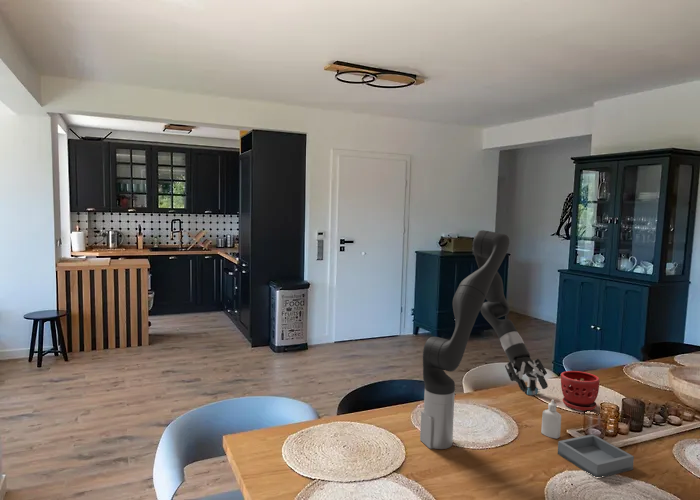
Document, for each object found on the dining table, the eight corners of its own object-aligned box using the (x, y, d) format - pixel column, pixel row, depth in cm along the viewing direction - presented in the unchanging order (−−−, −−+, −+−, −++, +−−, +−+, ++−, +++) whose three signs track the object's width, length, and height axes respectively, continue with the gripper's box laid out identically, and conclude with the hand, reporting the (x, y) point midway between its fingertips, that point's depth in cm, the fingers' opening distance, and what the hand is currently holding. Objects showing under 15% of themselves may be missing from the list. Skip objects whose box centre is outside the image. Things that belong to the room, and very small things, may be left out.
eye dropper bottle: (549, 430, 158) (552, 396, 157) (562, 438, 153) (564, 402, 152) (539, 432, 157) (541, 397, 156) (551, 440, 152) (553, 404, 151)
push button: (535, 390, 194) (537, 366, 193) (544, 395, 188) (545, 371, 188) (521, 391, 192) (522, 367, 191) (529, 397, 187) (531, 372, 186)
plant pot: (599, 404, 181) (601, 373, 180) (595, 416, 170) (598, 384, 169) (562, 396, 188) (564, 367, 187) (556, 407, 177) (558, 376, 176)
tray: (596, 478, 130) (597, 465, 130) (557, 453, 143) (558, 441, 143) (632, 469, 135) (633, 456, 135) (591, 446, 148) (592, 434, 148)
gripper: (503, 343, 165) (525, 387, 156) (535, 340, 171) (558, 382, 161) (493, 354, 171) (513, 396, 161) (524, 350, 176) (545, 391, 166)
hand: (535, 389), depth 161 cm, fingers open, 8 cm apart
